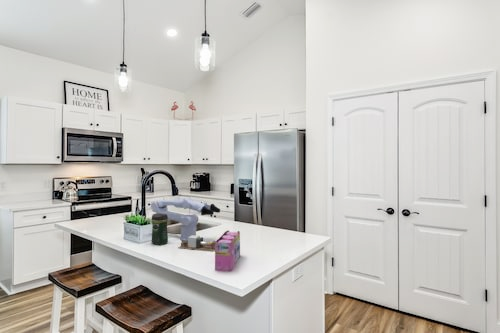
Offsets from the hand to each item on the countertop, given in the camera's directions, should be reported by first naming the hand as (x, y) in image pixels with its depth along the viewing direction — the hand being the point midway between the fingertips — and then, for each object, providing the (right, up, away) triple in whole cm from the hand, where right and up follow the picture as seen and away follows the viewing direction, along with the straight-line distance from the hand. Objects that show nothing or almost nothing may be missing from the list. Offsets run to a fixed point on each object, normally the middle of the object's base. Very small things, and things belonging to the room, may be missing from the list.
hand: (216, 212), depth 180 cm
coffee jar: (-35, -19, -1) cm, 40 cm away
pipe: (-10, -18, -10) cm, 23 cm away
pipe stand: (-10, -20, -10) cm, 24 cm away
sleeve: (-12, -20, -9) cm, 25 cm away
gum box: (+10, -20, -34) cm, 41 cm away
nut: (-9, -20, -10) cm, 24 cm away
